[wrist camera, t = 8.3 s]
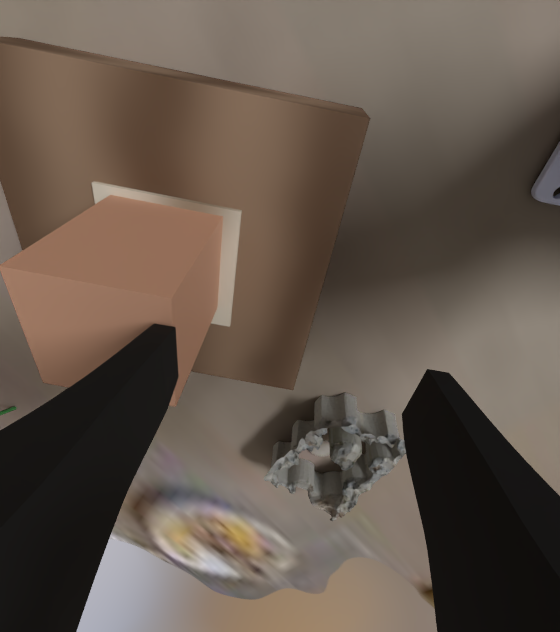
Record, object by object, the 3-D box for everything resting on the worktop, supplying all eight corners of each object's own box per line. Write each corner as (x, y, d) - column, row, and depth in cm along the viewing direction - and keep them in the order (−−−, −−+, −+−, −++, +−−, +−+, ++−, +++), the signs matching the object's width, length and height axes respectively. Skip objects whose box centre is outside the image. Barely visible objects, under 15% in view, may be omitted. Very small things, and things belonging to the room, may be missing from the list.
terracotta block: (223, 216, 14) (171, 298, 9) (217, 307, 17) (175, 406, 12) (110, 194, 14) (-2, 266, 9) (123, 289, 17) (43, 382, 12)
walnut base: (361, 108, 14) (370, 119, 11) (296, 354, 22) (293, 392, 20) (17, 38, 14) (-52, 32, 11) (82, 314, 22) (50, 347, 20)
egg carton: (331, 477, 31) (332, 525, 28) (259, 447, 30) (251, 495, 26) (415, 420, 26) (429, 473, 22) (332, 377, 24) (333, 429, 20)
